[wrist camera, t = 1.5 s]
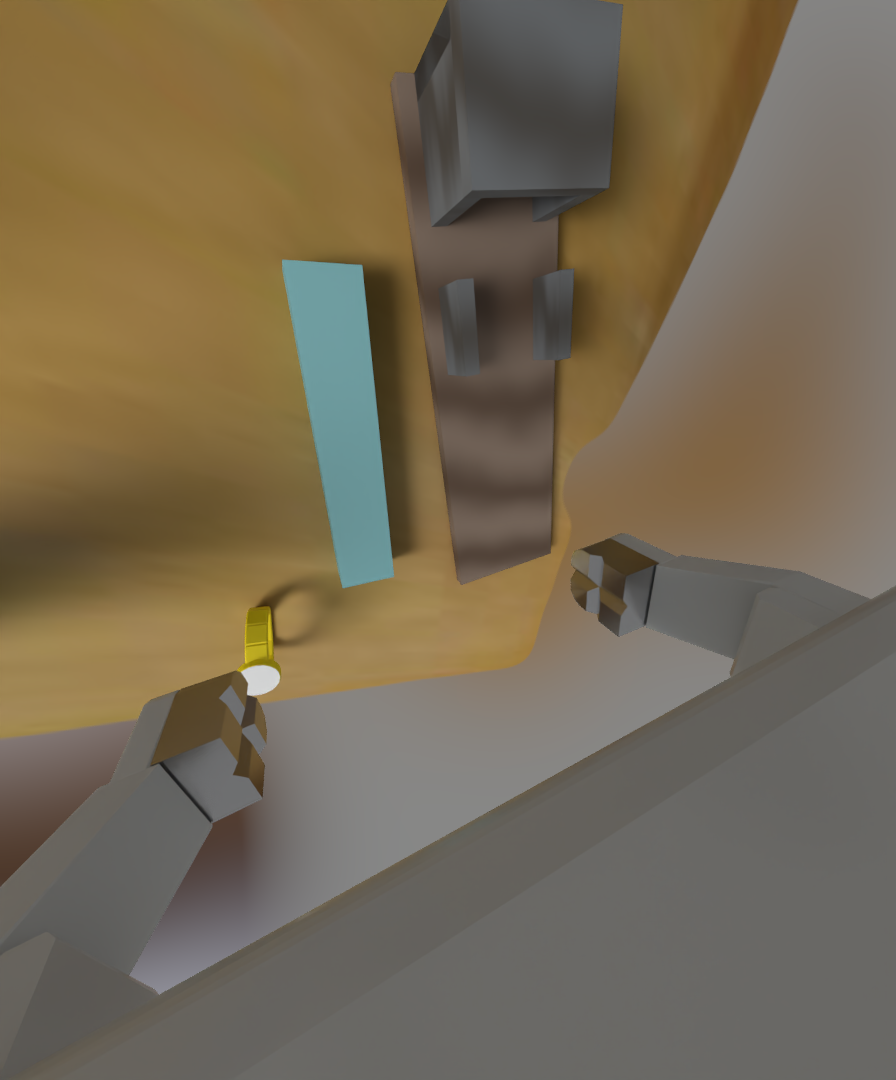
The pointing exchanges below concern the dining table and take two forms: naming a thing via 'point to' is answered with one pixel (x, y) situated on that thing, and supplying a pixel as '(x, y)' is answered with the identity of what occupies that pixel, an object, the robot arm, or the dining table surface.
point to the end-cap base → (502, 244)
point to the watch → (259, 653)
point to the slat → (342, 411)
